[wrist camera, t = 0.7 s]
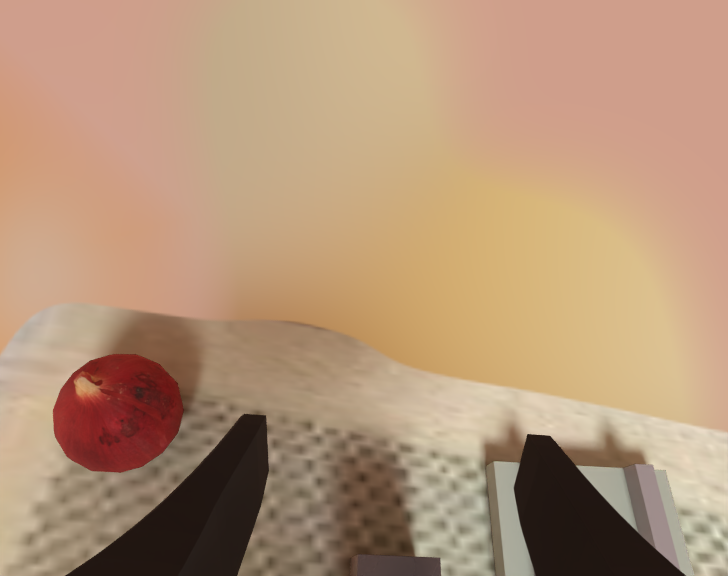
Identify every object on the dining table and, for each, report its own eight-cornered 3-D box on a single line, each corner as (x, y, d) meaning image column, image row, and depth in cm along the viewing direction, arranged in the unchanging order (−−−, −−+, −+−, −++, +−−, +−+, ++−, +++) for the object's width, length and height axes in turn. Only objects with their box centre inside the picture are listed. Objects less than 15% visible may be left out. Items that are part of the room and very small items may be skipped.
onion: (204, 385, 29) (170, 327, 22) (184, 485, 26) (136, 455, 19) (107, 379, 29) (41, 320, 22) (75, 481, 26) (-12, 448, 19)
